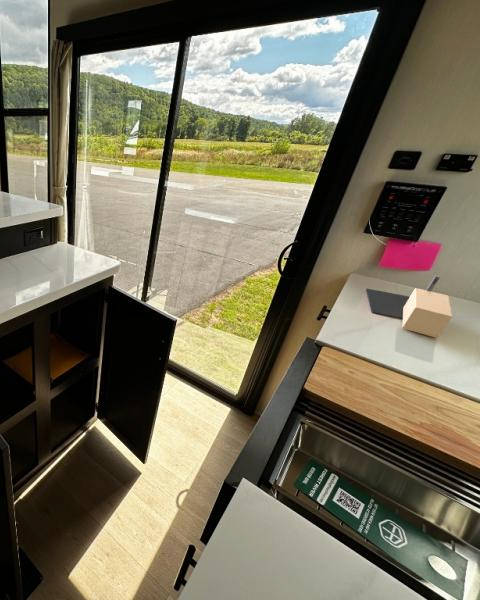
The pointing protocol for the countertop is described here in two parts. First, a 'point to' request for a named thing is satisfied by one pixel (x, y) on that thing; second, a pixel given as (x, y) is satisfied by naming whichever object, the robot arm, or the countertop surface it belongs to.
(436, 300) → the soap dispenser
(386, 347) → the countertop surface
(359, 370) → the countertop surface
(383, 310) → the mat
